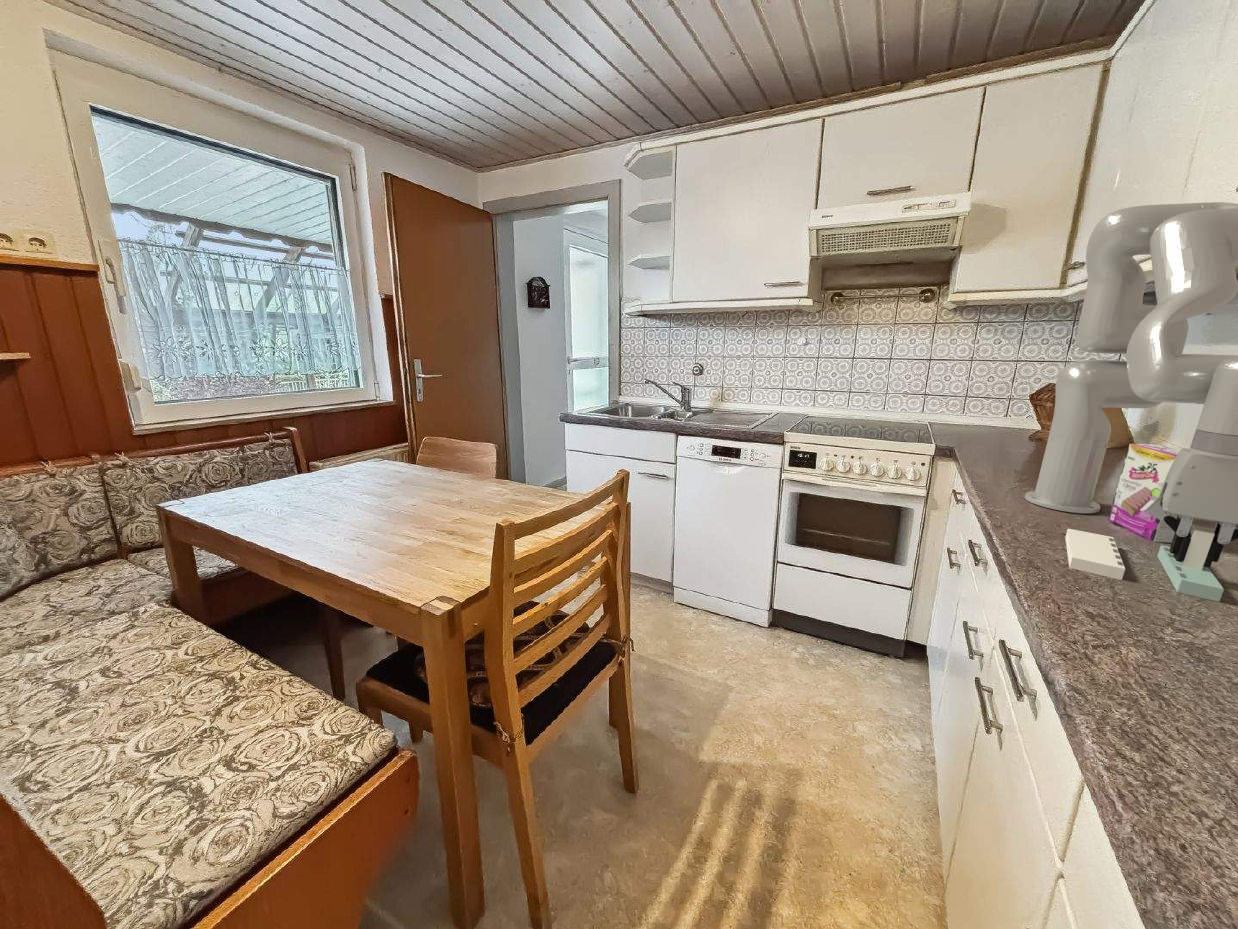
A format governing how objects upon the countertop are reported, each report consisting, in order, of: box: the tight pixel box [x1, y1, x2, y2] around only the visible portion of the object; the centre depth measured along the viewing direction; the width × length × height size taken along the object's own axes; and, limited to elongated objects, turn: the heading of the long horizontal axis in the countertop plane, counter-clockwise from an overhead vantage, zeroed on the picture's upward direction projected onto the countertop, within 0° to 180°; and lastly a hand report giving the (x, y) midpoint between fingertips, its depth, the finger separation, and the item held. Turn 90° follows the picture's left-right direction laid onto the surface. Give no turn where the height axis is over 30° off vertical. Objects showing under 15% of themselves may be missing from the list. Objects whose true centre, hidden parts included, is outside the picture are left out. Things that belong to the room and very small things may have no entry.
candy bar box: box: [1107, 442, 1180, 544], centre depth 91 cm, size 11×5×16 cm, turn 168°
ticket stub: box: [1157, 524, 1224, 603], centre depth 75 cm, size 16×4×8 cm, turn 140°
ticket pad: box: [1065, 528, 1126, 581], centre depth 82 cm, size 16×6×2 cm, turn 140°
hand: (1191, 560), depth 75 cm, fingers closed on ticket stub, 2 cm apart
